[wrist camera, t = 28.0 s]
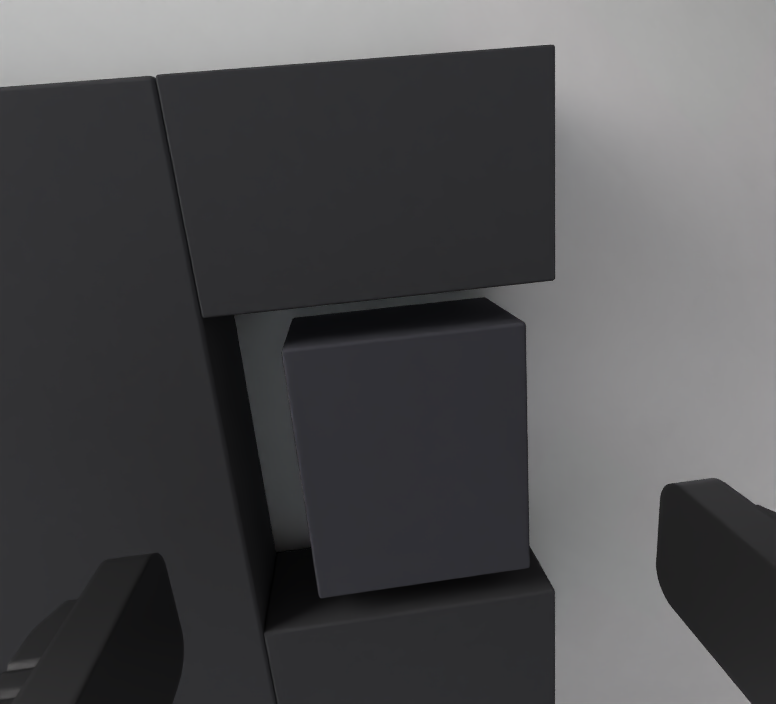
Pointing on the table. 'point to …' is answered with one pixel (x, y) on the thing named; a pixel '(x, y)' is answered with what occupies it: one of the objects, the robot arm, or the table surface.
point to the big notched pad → (222, 353)
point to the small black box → (411, 442)
